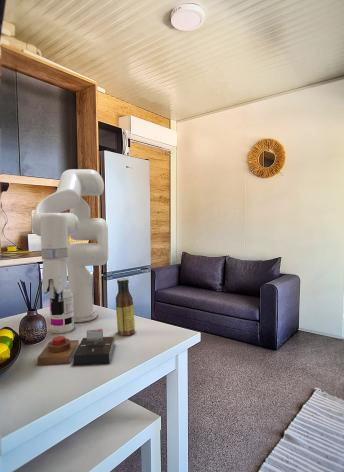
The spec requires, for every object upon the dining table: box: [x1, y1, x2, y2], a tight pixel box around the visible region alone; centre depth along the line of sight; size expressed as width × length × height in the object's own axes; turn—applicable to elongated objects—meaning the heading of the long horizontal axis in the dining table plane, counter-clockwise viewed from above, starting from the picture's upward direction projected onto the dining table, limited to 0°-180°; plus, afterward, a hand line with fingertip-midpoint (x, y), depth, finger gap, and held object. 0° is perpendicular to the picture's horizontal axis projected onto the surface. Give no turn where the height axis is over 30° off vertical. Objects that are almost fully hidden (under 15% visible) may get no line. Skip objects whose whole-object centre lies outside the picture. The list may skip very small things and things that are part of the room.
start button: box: [52, 335, 66, 345], centre depth 94 cm, size 4×4×2 cm
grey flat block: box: [86, 328, 104, 346], centre depth 93 cm, size 5×2×5 cm, turn 94°
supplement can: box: [49, 288, 75, 334], centre depth 115 cm, size 8×8×15 cm
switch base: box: [73, 336, 115, 366], centre depth 94 cm, size 13×10×3 cm
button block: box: [36, 338, 80, 366], centre depth 94 cm, size 12×9×4 cm
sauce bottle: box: [115, 277, 136, 336], centre depth 111 cm, size 7×6×20 cm
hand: (57, 314), depth 93 cm, fingers closed
